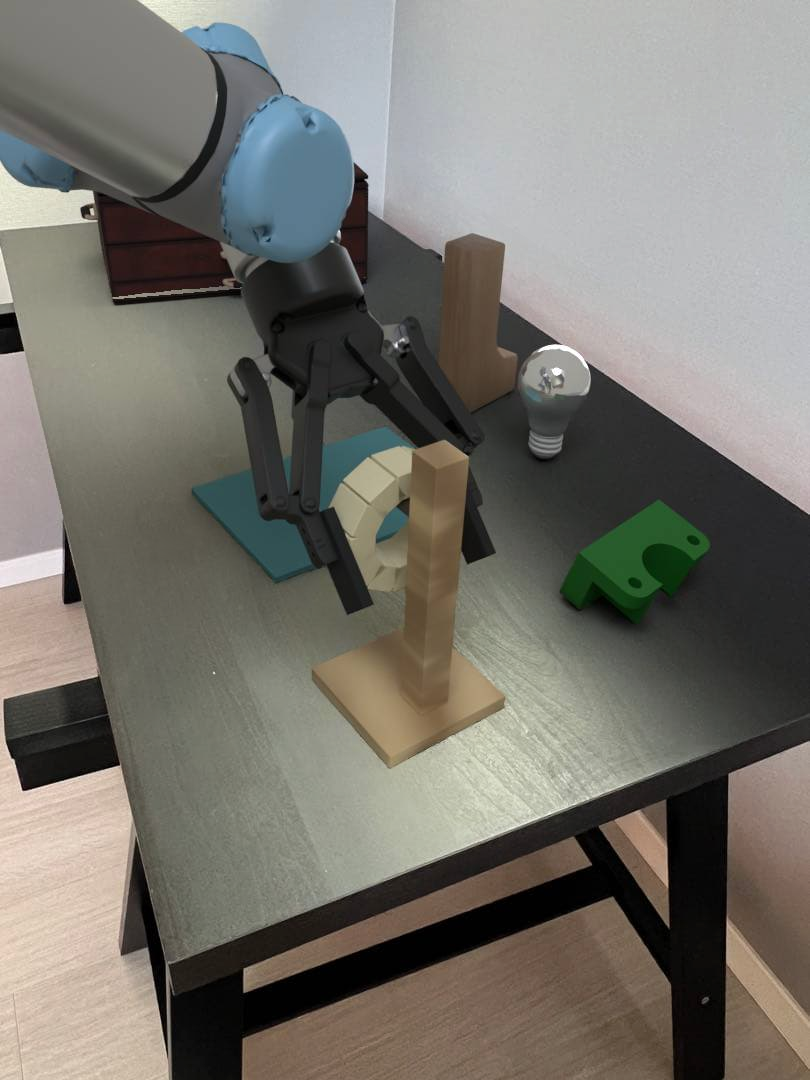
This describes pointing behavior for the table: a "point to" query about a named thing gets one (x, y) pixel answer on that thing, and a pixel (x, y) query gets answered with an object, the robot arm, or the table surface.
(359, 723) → the hook stand
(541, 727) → the table surface
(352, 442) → the mat
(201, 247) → the storage box
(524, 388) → the light bulb
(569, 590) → the clamp
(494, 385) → the wooden block
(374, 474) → the segmented ring
